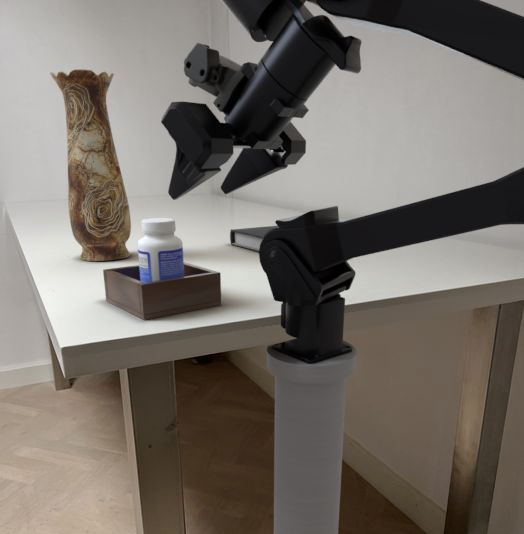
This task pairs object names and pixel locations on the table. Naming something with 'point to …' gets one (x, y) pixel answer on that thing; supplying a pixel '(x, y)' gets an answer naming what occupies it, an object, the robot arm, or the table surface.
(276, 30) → the robot arm
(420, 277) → the table surface
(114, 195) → the vase
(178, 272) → the pill bottle
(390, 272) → the table surface
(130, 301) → the box
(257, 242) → the book
